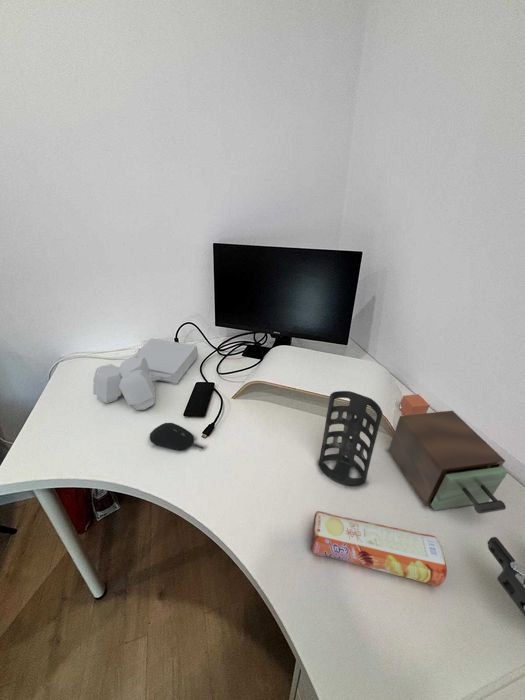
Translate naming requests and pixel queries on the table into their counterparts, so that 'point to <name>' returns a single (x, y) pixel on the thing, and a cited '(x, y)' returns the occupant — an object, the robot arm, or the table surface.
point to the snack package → (379, 547)
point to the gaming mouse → (172, 437)
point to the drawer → (470, 489)
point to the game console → (144, 372)
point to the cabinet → (437, 449)
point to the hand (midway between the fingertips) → (513, 535)
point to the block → (413, 405)
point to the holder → (349, 445)
